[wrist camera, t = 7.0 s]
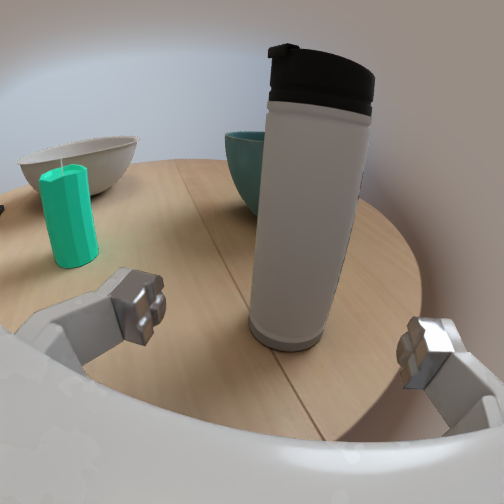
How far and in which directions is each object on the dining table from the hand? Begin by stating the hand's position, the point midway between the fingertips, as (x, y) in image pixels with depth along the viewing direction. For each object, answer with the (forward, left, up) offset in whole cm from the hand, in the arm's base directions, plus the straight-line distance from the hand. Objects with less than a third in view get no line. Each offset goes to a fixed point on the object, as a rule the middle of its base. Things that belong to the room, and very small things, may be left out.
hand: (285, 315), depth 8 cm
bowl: (+38, +42, -11) cm, 58 cm away
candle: (+16, +24, -11) cm, 31 cm away
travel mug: (+11, -1, -11) cm, 15 cm away
